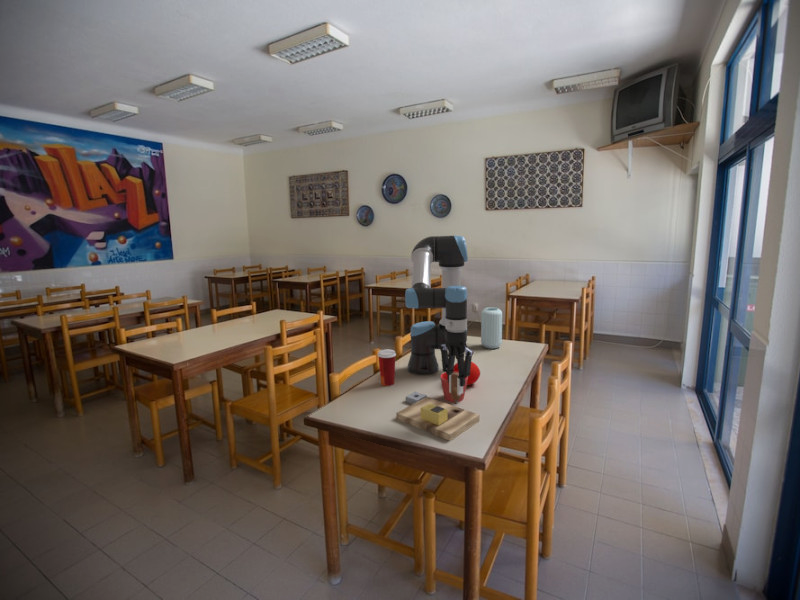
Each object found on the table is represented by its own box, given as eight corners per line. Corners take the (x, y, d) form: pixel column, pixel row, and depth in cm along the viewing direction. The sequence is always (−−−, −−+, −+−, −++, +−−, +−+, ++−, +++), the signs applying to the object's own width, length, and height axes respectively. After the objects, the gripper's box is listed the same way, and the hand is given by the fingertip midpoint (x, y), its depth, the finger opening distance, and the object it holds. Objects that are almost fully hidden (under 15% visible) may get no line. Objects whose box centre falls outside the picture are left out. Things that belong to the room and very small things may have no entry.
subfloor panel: (396, 419, 149) (396, 412, 148) (427, 402, 162) (427, 396, 161) (450, 441, 133) (450, 434, 132) (479, 420, 146) (479, 414, 145)
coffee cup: (399, 381, 184) (399, 350, 181) (391, 388, 176) (390, 355, 174) (383, 379, 187) (382, 348, 184) (375, 385, 180) (373, 353, 177)
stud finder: (420, 418, 143) (420, 407, 143) (429, 413, 147) (429, 402, 146) (438, 425, 138) (438, 413, 137) (447, 420, 142) (447, 408, 141)
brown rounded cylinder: (449, 403, 147) (449, 374, 145) (454, 400, 150) (454, 371, 148) (457, 406, 145) (457, 376, 143) (462, 403, 148) (462, 373, 146)
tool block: (405, 401, 163) (405, 396, 162) (415, 397, 167) (415, 391, 166) (417, 406, 159) (417, 400, 158) (426, 401, 163) (426, 395, 162)
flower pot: (461, 406, 157) (461, 382, 156) (436, 400, 163) (435, 377, 161) (471, 396, 166) (471, 373, 164) (447, 391, 172) (447, 369, 170)
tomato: (459, 376, 188) (459, 355, 186) (483, 382, 181) (484, 359, 179) (447, 385, 179) (447, 362, 177) (472, 390, 172) (473, 367, 170)
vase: (481, 349, 227) (481, 310, 223) (480, 343, 238) (481, 306, 234) (502, 349, 225) (503, 310, 221) (500, 343, 237) (501, 306, 233)
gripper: (431, 328, 145) (432, 390, 149) (469, 335, 135) (469, 402, 139) (444, 324, 151) (444, 384, 155) (481, 331, 140) (480, 395, 144)
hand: (456, 392), depth 147 cm, fingers closed on brown rounded cylinder, 3 cm apart
